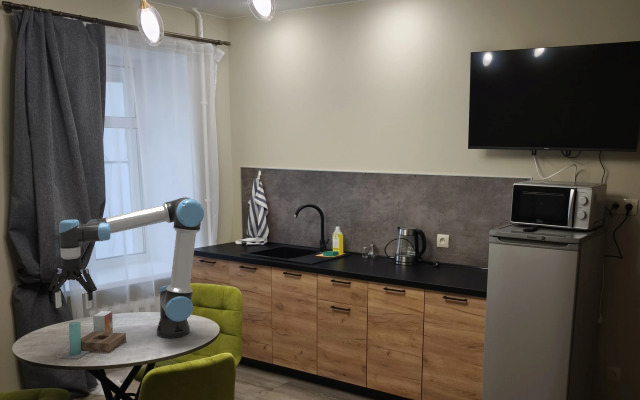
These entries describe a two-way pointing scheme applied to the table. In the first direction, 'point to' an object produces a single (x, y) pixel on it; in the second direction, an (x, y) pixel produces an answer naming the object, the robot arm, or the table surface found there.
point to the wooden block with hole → (102, 341)
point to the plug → (75, 338)
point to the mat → (68, 356)
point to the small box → (103, 322)
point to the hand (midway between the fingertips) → (73, 307)
